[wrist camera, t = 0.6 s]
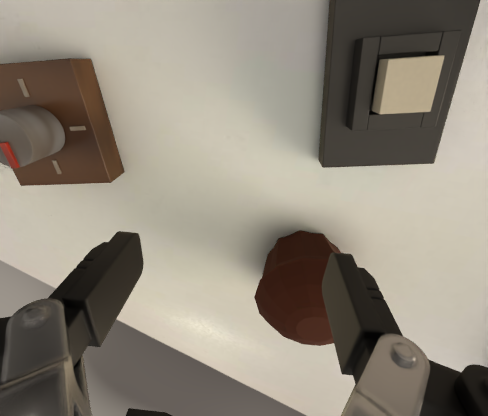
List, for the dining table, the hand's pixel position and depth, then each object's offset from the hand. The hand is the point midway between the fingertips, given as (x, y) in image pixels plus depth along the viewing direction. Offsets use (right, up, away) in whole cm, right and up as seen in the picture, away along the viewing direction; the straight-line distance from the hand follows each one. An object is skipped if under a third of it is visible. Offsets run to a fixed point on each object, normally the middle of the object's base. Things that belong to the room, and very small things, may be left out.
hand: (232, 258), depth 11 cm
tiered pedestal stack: (+13, +13, +12) cm, 22 cm away
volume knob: (-18, +9, +13) cm, 25 cm away
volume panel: (-18, +11, +16) cm, 27 cm away
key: (+12, +12, +9) cm, 19 cm away
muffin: (+8, -4, +22) cm, 24 cm away
